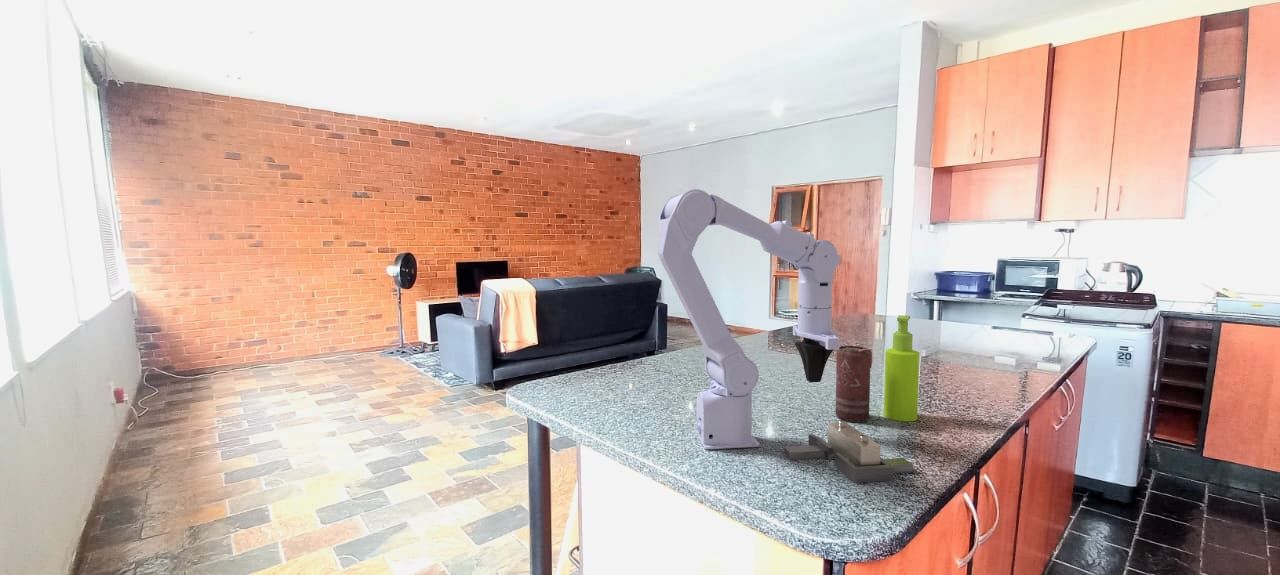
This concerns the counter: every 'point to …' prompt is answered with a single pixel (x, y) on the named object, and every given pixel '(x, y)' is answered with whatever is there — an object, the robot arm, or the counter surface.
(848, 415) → the can
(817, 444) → the grey linked bars
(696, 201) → the robot arm
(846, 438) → the studded metal block
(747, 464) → the counter surface
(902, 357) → the soap dispenser
